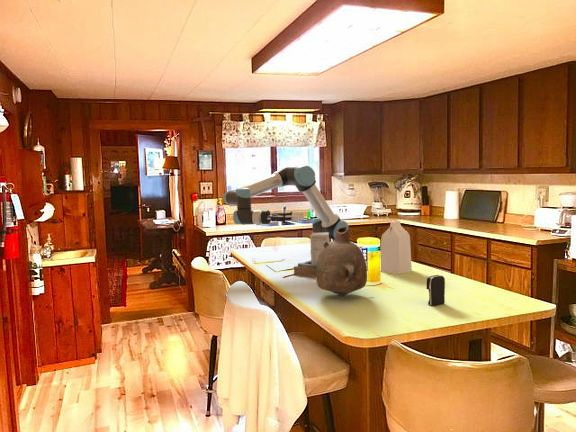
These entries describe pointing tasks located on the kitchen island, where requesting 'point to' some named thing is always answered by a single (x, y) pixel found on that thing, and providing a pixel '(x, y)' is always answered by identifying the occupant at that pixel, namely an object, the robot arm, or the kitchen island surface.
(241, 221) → the robot arm
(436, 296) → the battery charger
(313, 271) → the display riser
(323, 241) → the supplement box
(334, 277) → the jug
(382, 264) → the milk
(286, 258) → the kitchen island surface
